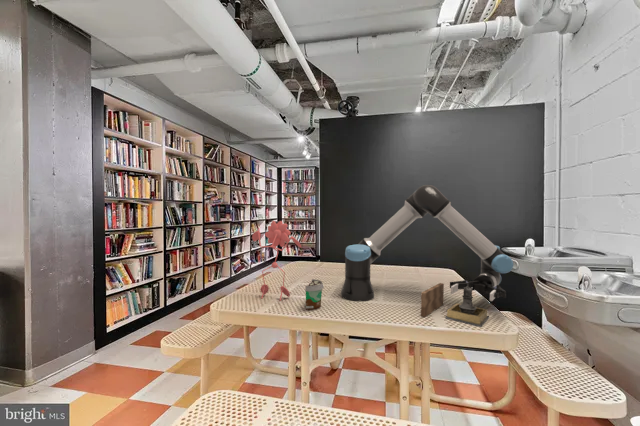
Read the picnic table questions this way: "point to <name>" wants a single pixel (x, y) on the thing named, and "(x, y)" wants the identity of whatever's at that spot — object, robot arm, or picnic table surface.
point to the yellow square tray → (467, 315)
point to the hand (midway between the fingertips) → (470, 293)
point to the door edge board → (432, 299)
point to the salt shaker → (467, 301)
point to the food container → (314, 294)
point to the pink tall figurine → (276, 237)
